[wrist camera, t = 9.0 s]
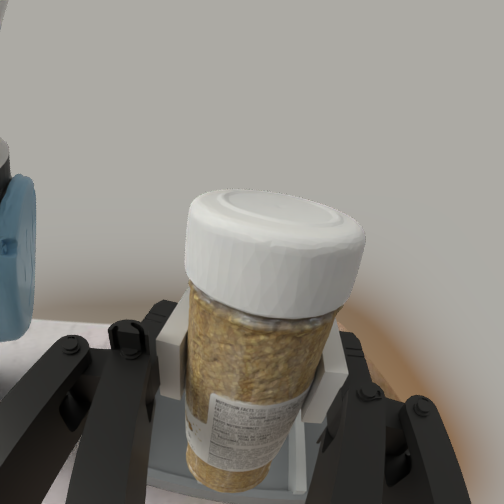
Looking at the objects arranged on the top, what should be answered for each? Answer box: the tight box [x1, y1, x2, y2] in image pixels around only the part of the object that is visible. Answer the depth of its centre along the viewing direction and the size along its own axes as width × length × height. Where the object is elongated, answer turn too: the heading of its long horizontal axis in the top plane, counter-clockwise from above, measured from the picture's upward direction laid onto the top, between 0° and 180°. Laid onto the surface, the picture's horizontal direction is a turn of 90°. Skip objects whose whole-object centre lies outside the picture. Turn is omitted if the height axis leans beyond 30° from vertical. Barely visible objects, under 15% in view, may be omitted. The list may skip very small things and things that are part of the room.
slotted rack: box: [147, 386, 327, 504], centre depth 23 cm, size 23×16×4 cm
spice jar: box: [185, 189, 366, 493], centre depth 10 cm, size 5×5×14 cm
